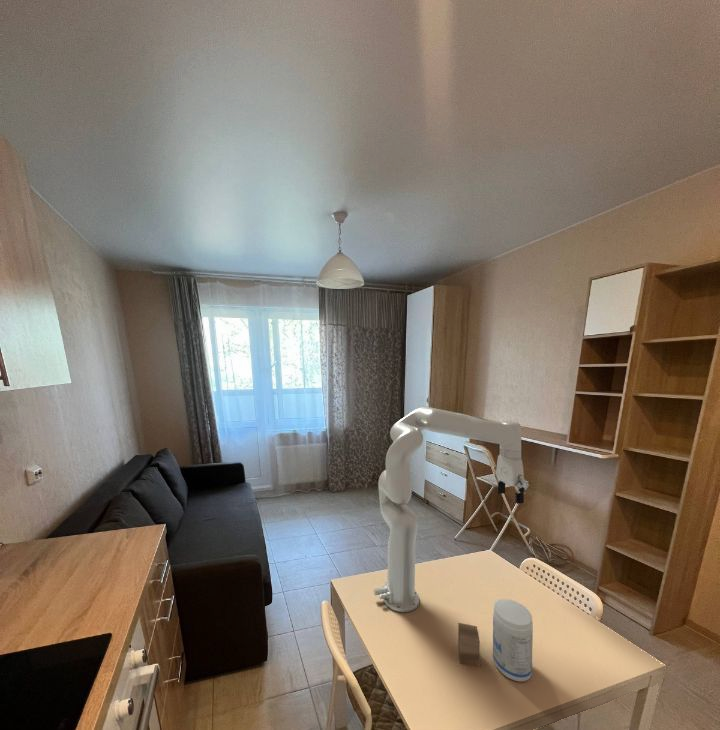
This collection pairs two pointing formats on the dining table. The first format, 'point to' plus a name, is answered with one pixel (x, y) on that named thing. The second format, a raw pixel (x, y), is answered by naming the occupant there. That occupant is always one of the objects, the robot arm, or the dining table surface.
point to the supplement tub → (512, 639)
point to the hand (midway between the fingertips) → (510, 498)
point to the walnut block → (468, 645)
